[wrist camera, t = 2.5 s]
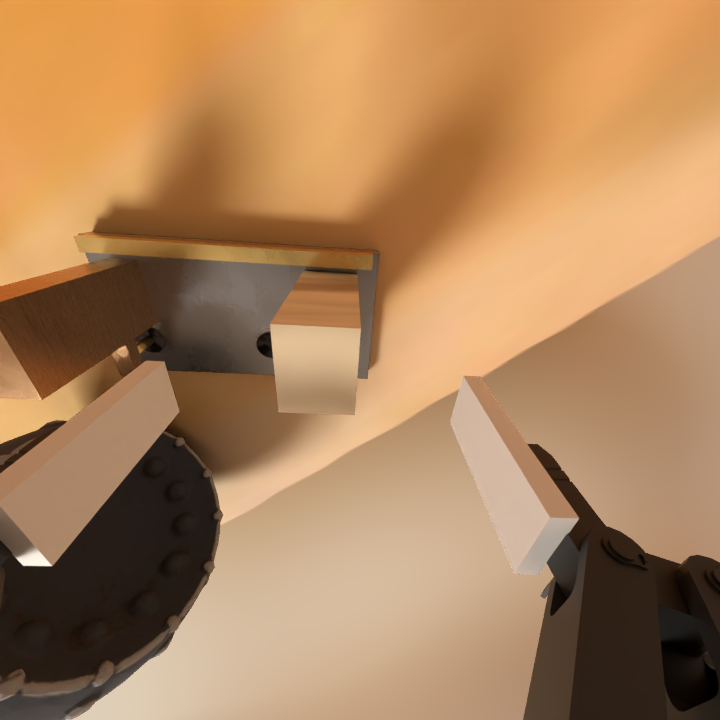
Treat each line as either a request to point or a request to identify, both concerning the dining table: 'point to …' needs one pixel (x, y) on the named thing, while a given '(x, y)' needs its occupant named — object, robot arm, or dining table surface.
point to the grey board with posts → (162, 308)
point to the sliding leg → (318, 345)
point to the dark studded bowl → (108, 586)
